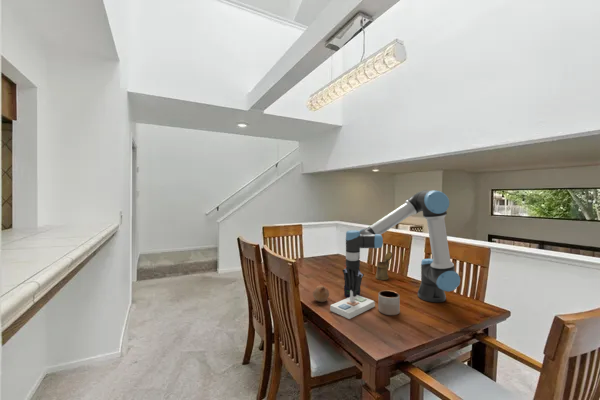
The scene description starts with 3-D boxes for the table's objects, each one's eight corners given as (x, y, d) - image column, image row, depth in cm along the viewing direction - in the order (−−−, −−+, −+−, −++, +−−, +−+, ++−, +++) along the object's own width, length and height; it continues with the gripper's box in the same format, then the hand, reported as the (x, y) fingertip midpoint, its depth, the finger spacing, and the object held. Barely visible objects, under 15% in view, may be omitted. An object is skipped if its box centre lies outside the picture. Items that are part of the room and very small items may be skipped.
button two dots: (366, 304, 159) (366, 298, 159) (361, 306, 156) (361, 300, 156) (359, 302, 162) (359, 296, 162) (354, 304, 159) (354, 298, 159)
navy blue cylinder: (340, 295, 173) (340, 271, 172) (349, 290, 180) (349, 267, 179) (354, 299, 166) (354, 274, 165) (363, 294, 173) (363, 270, 172)
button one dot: (350, 312, 150) (350, 305, 149) (345, 314, 147) (345, 308, 146) (343, 309, 153) (343, 303, 153) (338, 311, 150) (338, 305, 150)
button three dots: (358, 308, 154) (358, 302, 154) (353, 310, 151) (353, 304, 151) (352, 305, 158) (352, 299, 158) (346, 308, 155) (346, 301, 155)
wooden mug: (395, 277, 204) (395, 253, 203) (381, 280, 198) (381, 255, 197) (386, 274, 212) (386, 250, 211) (372, 277, 206) (372, 252, 205)
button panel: (374, 306, 157) (374, 301, 157) (349, 319, 142) (349, 313, 142) (355, 299, 167) (355, 294, 166) (330, 310, 152) (330, 305, 152)
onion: (324, 308, 162) (327, 296, 157) (309, 302, 165) (312, 289, 160) (329, 296, 170) (332, 284, 165) (314, 291, 173) (317, 279, 168)
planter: (396, 318, 143) (397, 299, 143) (375, 313, 149) (375, 295, 148) (401, 309, 152) (401, 292, 152) (381, 305, 158) (381, 288, 158)
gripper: (367, 260, 150) (366, 303, 152) (347, 255, 160) (347, 296, 162) (358, 262, 146) (358, 307, 147) (339, 258, 155) (339, 299, 157)
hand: (352, 301), depth 154 cm, fingers closed
